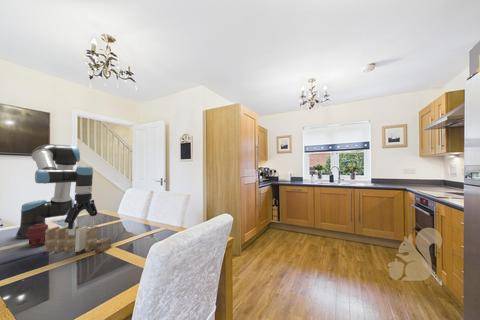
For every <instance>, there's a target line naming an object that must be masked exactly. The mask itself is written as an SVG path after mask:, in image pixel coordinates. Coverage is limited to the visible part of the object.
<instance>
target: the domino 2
mask: <svg viewBox="0 0 480 320" xmlns="http://www.w3.org/2000/svg"><path fill="white" fill-rule="evenodd" d="M66 229H68V225H67V226H63V227H59V229H56V236H55V249H54V253H59V252H61V251H63V250H64V251H65V237H66Z"/></svg>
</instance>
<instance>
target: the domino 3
mask: <svg viewBox="0 0 480 320" xmlns="http://www.w3.org/2000/svg"><path fill="white" fill-rule="evenodd" d="M79 228H80V227H79V226H76V225H75V235H68V232H69V229H66V237H65V249H64V252H65V253H69V252H71V251H73V250H75V242H76V229H79Z"/></svg>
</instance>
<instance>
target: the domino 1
mask: <svg viewBox="0 0 480 320" xmlns="http://www.w3.org/2000/svg"><path fill="white" fill-rule="evenodd" d="M59 228H60V226H54V227H50V228H48V229H47V230H46V234H45V244H44V252H45V253H49V252H51V251H55V236H56V229H59Z"/></svg>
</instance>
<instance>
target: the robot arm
mask: <svg viewBox="0 0 480 320" xmlns="http://www.w3.org/2000/svg"><path fill="white" fill-rule="evenodd" d="M30 155H31V158H32V160H33V161H34V162H35V164H36V167H37V169H36V170H35V173H34V182H35V183H36V184H43V185H44V184H55V185H54V194H53V197H51V198H50V201H47V200H46V199H39V200H33V201H29V202H25V203H24V204H22V205H21V209H20V212H21V213H20V226H19V228H18V230H17V232H16V234H15V239H16V240H23V239H24V240H26V239H29V237H26V236H25V234H26V233H27V232H28V227H31V226H33V225H35V224H47V223H46V219H47V218H57V217H58V218H59V217H64V216H66V217H65V220H64V223H66V224H68V225H67V226H68V229H69V232H68V235H75V226H76V219H77V218H78V216H79V214H80V213H81V212H82V211H84V210H85V212H87V214H88V215H89V216H88V223H87V225H88V228H91V227H94V226H95V216H97V215H98V209H97V208H96V203H95V199H92V197H93V196H92V195H93V194H92V192H93V175H94V174H93V173H94V170H93V169H94V168H93V166H77V167H76V169H74V166H76V165H77V163H78V162H80V160H81V153H80V149H79V148H78V146H75V145H68V144H67V145H66V144H51V143H47V144H43V145H39V146H37V147H36V148H34V149H33V150H32V152H31V154H30ZM72 183H75V187H74V188H75V189H74V193H75V195H74V199H73V197H72V196H70V195H71V187H72ZM75 202H76V203H75Z"/></svg>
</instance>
